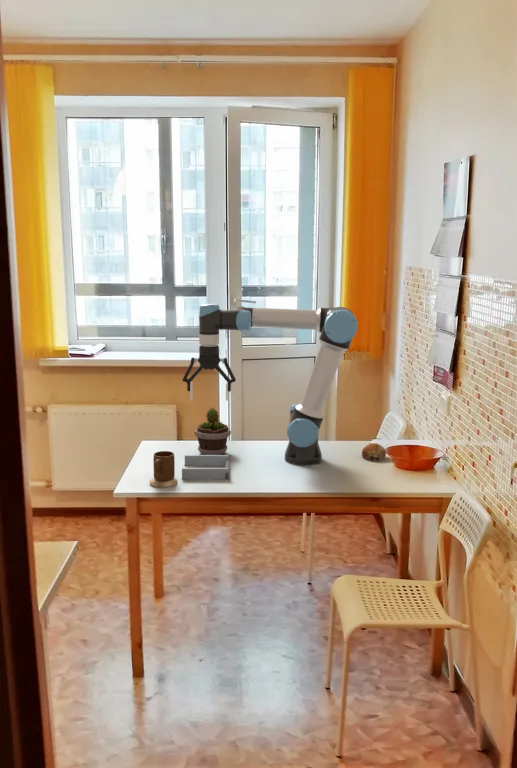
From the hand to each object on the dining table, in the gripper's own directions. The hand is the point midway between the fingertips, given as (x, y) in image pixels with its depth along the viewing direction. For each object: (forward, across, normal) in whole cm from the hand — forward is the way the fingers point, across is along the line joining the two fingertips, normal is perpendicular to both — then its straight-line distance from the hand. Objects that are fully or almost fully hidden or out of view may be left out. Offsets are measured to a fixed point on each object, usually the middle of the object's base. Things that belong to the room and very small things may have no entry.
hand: (209, 399), depth 255 cm
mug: (+26, +17, +19) cm, 36 cm away
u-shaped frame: (+27, +1, +7) cm, 28 cm away
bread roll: (+27, -68, -11) cm, 74 cm away
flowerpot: (+27, -1, -16) cm, 31 cm away
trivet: (+27, +16, +20) cm, 37 cm away
